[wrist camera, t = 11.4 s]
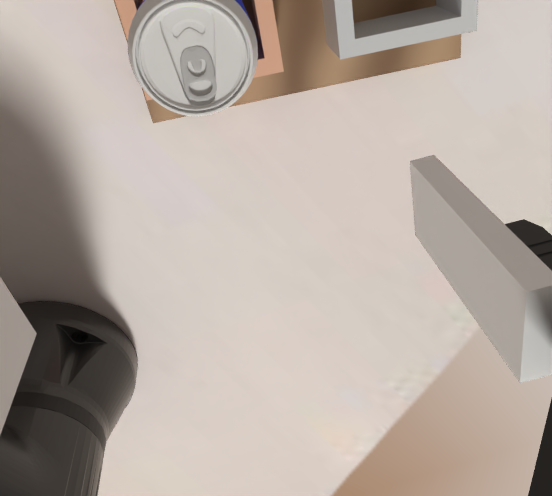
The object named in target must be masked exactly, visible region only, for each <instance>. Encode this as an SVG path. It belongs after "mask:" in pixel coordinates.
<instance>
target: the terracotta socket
mask: <svg viewBox="0 0 552 496" xmlns="http://www.w3.org/2000/svg"><path fill="white" fill-rule="evenodd" d="M142 2H143V0H115V3H116V6H117V9H118V12H119V15H120V18H121V22H122V25H123V28H124V31H125V34H126V37H127V40H128V35H129V29H130V26H131V23H132V20H133V18H134V16H135V14H136V12H137V10H138V8H139V7H140V5H141V3H142ZM251 6H252V11H253V16H254V22H255V27H256V33H257V38H258V59H257V66H256V70H255V74H254V77H253V78H256V77H261V76H265V75H270V74H275V73H279V72H284V69H283V63H282V57H281V51H280V44H279V38H278V32H277V26H276V20H275V14H274V7H273V1H272V0H251ZM143 91H144V89H143ZM144 94H145V97H146V100H147V101H148V100H152V98H151V97H150V96H149V95H148V94H147V93H146V92H145V91H144Z"/></svg>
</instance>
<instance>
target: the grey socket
mask: <svg viewBox="0 0 552 496" xmlns="http://www.w3.org/2000/svg"><path fill="white" fill-rule="evenodd" d="M322 6H323V15H324V23H325V32H326V41H327V45H328V47H329V48H330V49H331V50H332V51H333V52H334V53H335V54H336V55H337V57H338V58H339V59H340V60H341V59H345V58H350V57H355V56H360V55H364V54H369V53H374V52H378V51H383V50H388V49H392V48H397V47H402V46H407V45H411V44H416V43H421V42H425V41H430V40H435V39H440V38H444V37H449V36H454V35H458V34H463V33H468V32H473V31H477V15H478V0H436V6H432V7H428V8H423V9H418V10H413V11H409V12H404V13H399V14H395V15H390V16H385V17H380V18H376V19H371V20H366V21H362V22H357V23H354V22H353V10H352V0H322Z"/></svg>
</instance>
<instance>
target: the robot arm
mask: <svg viewBox="0 0 552 496" xmlns="http://www.w3.org/2000/svg"><path fill="white" fill-rule="evenodd" d="M410 170H411V184H412V197H413V210H414V224H415V235H416V237H417V238H418V240H419V241H420V242H421V244H422V245H423V247H424V248H425V249H426V251H427V252H428V254H429V255H430V256H431V258H432V259H433V261H434V262H435V264H436V265H437V266H438V268H439V269H440V271H441V272H442V273H443V275H444V276H445V278H446V279H447V281H448V282H449V283H450V285H451V286H452V288H453V289H454V290H455V292H456V293H457V295H458V296H459V297H460V299H461V300H462V302H463V303H464V305H465V306H466V307H467V309H468V310H469V312H470V313H471V314H472V316H473V317H474V319H475V320H476V322H477V323H478V324H479V326H480V327H481V329H482V330H483V331H484V333H485V334H486V336H487V337H488V338H489V340H490V341H491V343H492V344H493V345H494V347H495V348H496V350H497V351H498V353H499V354H500V355H501V357H502V358H503V360H504V361H505V362H506V364H507V365H508V367H509V368H510V370H511V371H512V372H513V374H514V375H515V377H516V378H517V379H518V381H519V382H520V383H522V382H526V381H529V380H533V379H537V378H541V377H545V376H549V375H552V235H551V234H550V233H548V232H547V231H546V230H545V229H544V228H543V227H541V226H538V225H536V224H534V223H531V222H529V221H526V220H524V219H523V220H519V221H516V222H512V223H508V224H504V223H503V222H502V221H501V220H500V219H499V218H498V217H497V216H496V215H494V214H493V213H492V212H491V211H490V210H489V209H488V208H487V207H486V206H485V205H484V204H483V203H482V202H481V201H480V200H479V199H478V198H477V197H476V196H475V195H474V194H473V193H472V192H471V191H470V190H469V189H468V188H467V187H466V186H465V185H464V184H463V183H462V182H461V181H460V180H459V179H458V178H457V177H456V176H455V175H454V174H453V173H452V172H451V171H450V170H449V169H448V168H447V167H446V166H445V165H444V164H443V163H442V162H441V161H440V160H439V159H438V158H436V157H435V156H434V155H432V156H428V157H424V158H420V159H417V160H413V161H410ZM137 367H138V363H137V356H136V353H135V350H134V347H133V345H132V343H131V342H130V340H129V339H128V337H127V336H126V335H125V334H124V333H123V332H122V331H121V330H120V329H119V328H118V327H117V326H116V325H115V324H113V323H112V322H111V321H109V320H108V319H106V318H105V317H103V316H101V315H99V314H97V313H95V312H93V311H90V310H88V309H85V308H82V307H79V306H75V305H71V304H65V303H59V302H29V303H23V304H17V302H16V301H15V299H14V297H13V296H12V294H11V293H10V291H9V290H8V288H7V287H6V285H5V283H4V282H3V280H2V279H1V277H0V496H98V489H99V483H100V477H101V470H102V464H103V456H104V451H105V446H106V441H107V439H108V438H109V436H110V434H111V432H112V431H113V429H114V427H115V425H116V424H117V422H118V420H119V418H120V416H121V415H122V413H123V411H124V409H125V408H126V406H127V405H128V403H129V402H130V400H131V398H132V395H133V392H134V389H135V383H136V376H137ZM528 496H552V399H551V403H550V408H549V412H548V416H547V420H546V424H545V428H544V433H543V436H542V441H541V445H540V449H539V453H538V457H537V461H536V466H535V470H534V474H533V478H532V482H531V486H530V491H529V494H528Z"/></svg>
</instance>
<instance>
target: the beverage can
mask: <svg viewBox="0 0 552 496" xmlns="http://www.w3.org/2000/svg"><path fill="white" fill-rule="evenodd" d="M128 55H129V60H130V64H131V67H132V70H133V73H134V75H135V77H136V79H137V81H138V82H139V84H140V85H141V87H142V88H143V89H144V91H145V92H146V93H147V94H148V95H149V96H150V97H151V98H152V99H153V100H154V101H156V102H157V103H158V104H160V105H161V106H163V107H164V108H166V109H168V110H170V111H172V112H175V113H177V114H181V115H186V116H206V115H211V114H214V113H217V112H219V111H222V110H224V109H226V108H227V107H229V106H231V105H232V104H233V103H235V102H236V101H237V100H238V99H239V98H240V97H241V96H242V95H243V94H244V93H245V91H246V90H247V88H248V87H249V85H250V83H251V81H252V79H253V77H254V74H255V70H256V66H257V59H258V44H257V39H256V34H255V31H254V28H253V26H252V23H251V21H250V18H249V16H248V14H247V11H246V9H245V7H244V5H243V2H242V0H143V2H142V3H141V5H140V7H139V8H138V10H137V12H136V14H135V16H134V18H133V20H132V23H131V26H130V29H129V35H128Z"/></svg>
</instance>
